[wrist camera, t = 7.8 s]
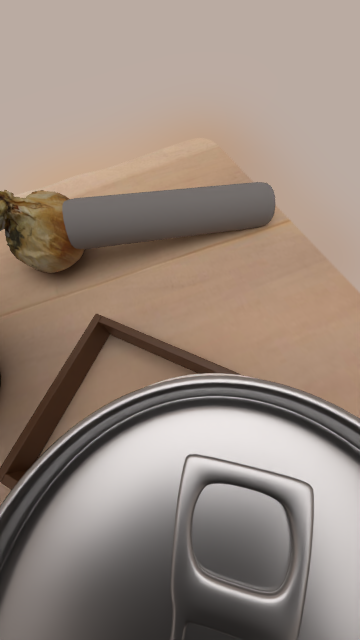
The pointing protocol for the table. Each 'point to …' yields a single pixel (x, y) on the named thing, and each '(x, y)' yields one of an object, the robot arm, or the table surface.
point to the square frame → (70, 381)
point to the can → (189, 520)
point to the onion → (37, 230)
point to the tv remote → (166, 214)
